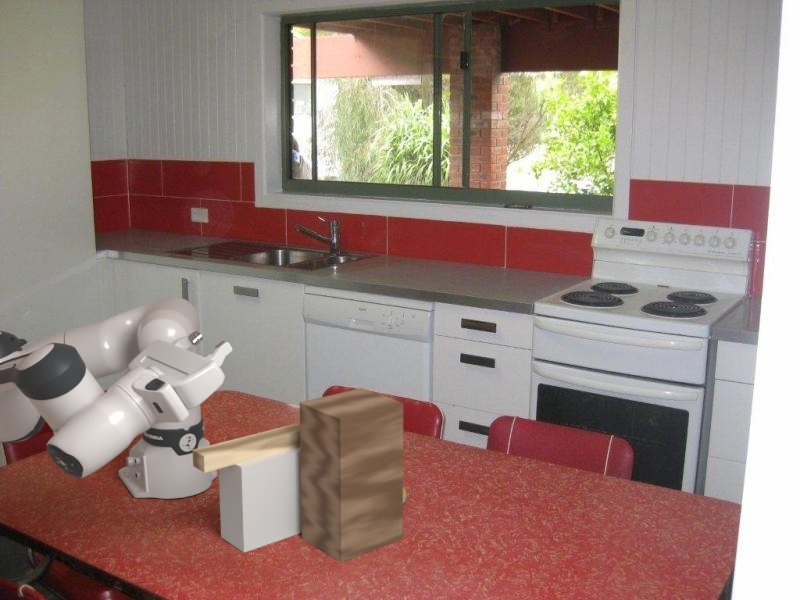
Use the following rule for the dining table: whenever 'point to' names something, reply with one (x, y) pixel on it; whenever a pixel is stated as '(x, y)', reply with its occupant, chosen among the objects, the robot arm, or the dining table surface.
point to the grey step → (261, 500)
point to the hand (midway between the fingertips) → (213, 339)
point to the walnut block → (351, 472)
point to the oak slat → (246, 448)
